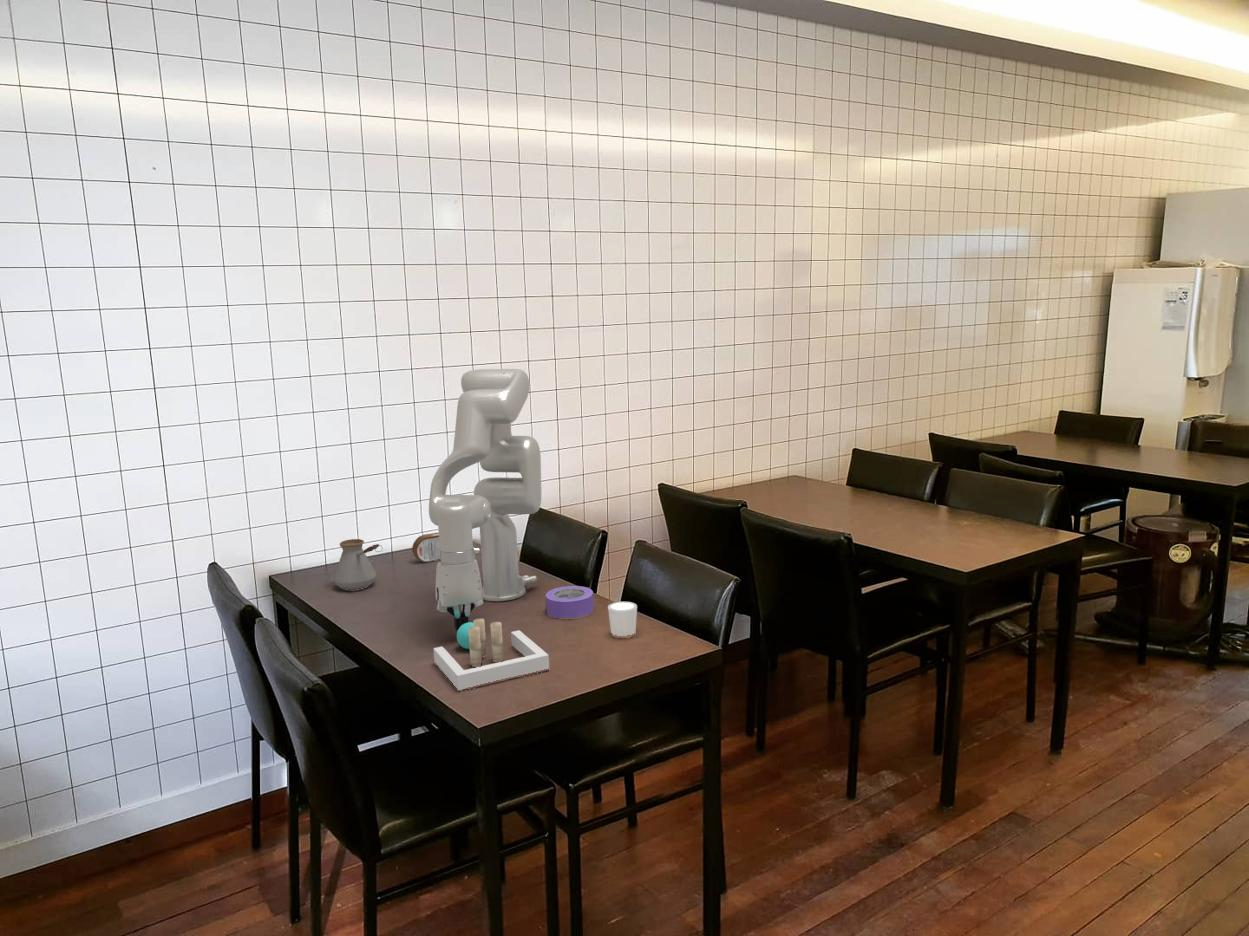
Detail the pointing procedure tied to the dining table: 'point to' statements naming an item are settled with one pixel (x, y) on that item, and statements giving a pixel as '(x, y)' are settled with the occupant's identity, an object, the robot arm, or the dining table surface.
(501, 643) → the pin
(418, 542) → the tin
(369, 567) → the coffee pot
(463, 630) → the ball
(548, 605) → the tape roll
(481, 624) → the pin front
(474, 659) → the pin
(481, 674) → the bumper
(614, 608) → the white cup
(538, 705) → the dining table surface
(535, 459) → the robot arm
